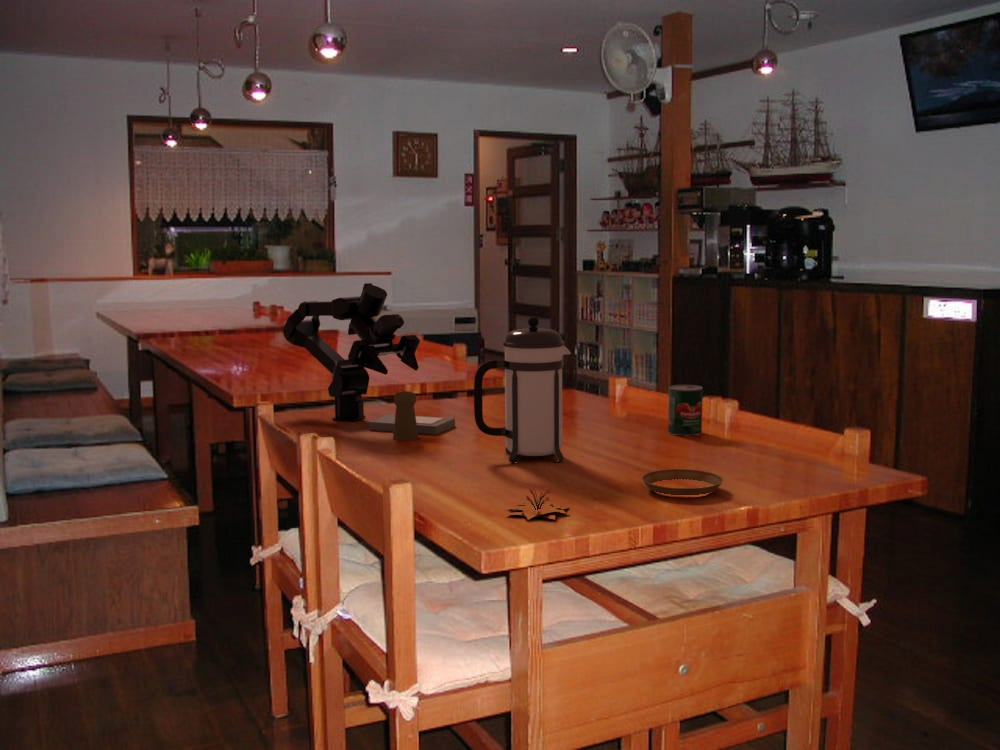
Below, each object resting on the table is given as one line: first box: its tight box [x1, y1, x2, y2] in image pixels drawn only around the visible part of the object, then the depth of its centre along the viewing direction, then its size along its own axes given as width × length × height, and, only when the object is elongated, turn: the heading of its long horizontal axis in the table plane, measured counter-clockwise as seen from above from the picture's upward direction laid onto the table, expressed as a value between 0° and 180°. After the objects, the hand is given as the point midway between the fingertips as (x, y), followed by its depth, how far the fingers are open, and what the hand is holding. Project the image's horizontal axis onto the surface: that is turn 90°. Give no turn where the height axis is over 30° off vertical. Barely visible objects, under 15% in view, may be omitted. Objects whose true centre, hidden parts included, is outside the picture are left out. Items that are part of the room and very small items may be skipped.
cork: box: [392, 390, 420, 442], centre depth 235 cm, size 6×6×11 cm
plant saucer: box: [641, 468, 724, 495], centre depth 186 cm, size 15×15×3 cm
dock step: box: [368, 413, 456, 436], centre depth 247 cm, size 18×11×2 cm, turn 68°
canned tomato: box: [667, 384, 704, 437], centre depth 238 cm, size 8×8×11 cm
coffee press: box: [473, 316, 571, 464], centre depth 212 cm, size 17×16×30 cm
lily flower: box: [516, 486, 564, 515], centre depth 172 cm, size 12×12×5 cm
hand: (402, 371), depth 241 cm, fingers open, 9 cm apart
